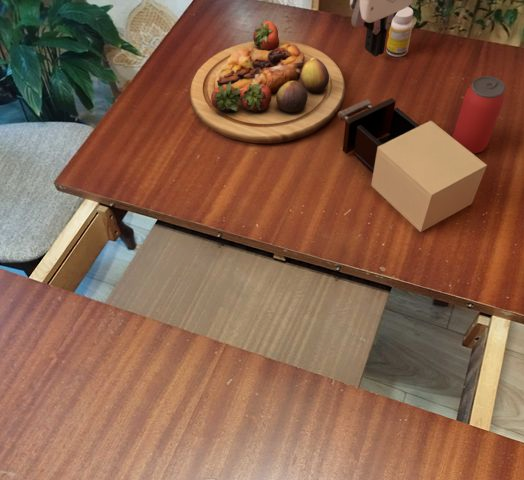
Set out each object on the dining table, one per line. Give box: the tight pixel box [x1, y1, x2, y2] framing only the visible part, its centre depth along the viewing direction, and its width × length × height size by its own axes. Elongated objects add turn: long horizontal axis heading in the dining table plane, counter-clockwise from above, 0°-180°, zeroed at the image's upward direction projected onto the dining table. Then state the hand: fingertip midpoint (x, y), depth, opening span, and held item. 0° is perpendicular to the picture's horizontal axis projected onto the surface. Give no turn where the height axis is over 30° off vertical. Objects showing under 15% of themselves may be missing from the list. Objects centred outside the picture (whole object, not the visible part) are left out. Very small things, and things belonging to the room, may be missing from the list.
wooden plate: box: [189, 20, 346, 144], centre depth 109 cm, size 32×32×8 cm
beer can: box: [451, 75, 506, 155], centre depth 97 cm, size 7×7×12 cm
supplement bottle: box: [385, 6, 414, 58], centre depth 115 cm, size 5×5×8 cm
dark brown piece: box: [337, 97, 421, 174], centre depth 99 cm, size 17×10×7 cm, turn 32°
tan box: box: [370, 120, 487, 233], centre depth 93 cm, size 14×12×9 cm
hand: (374, 51), depth 94 cm, fingers closed
